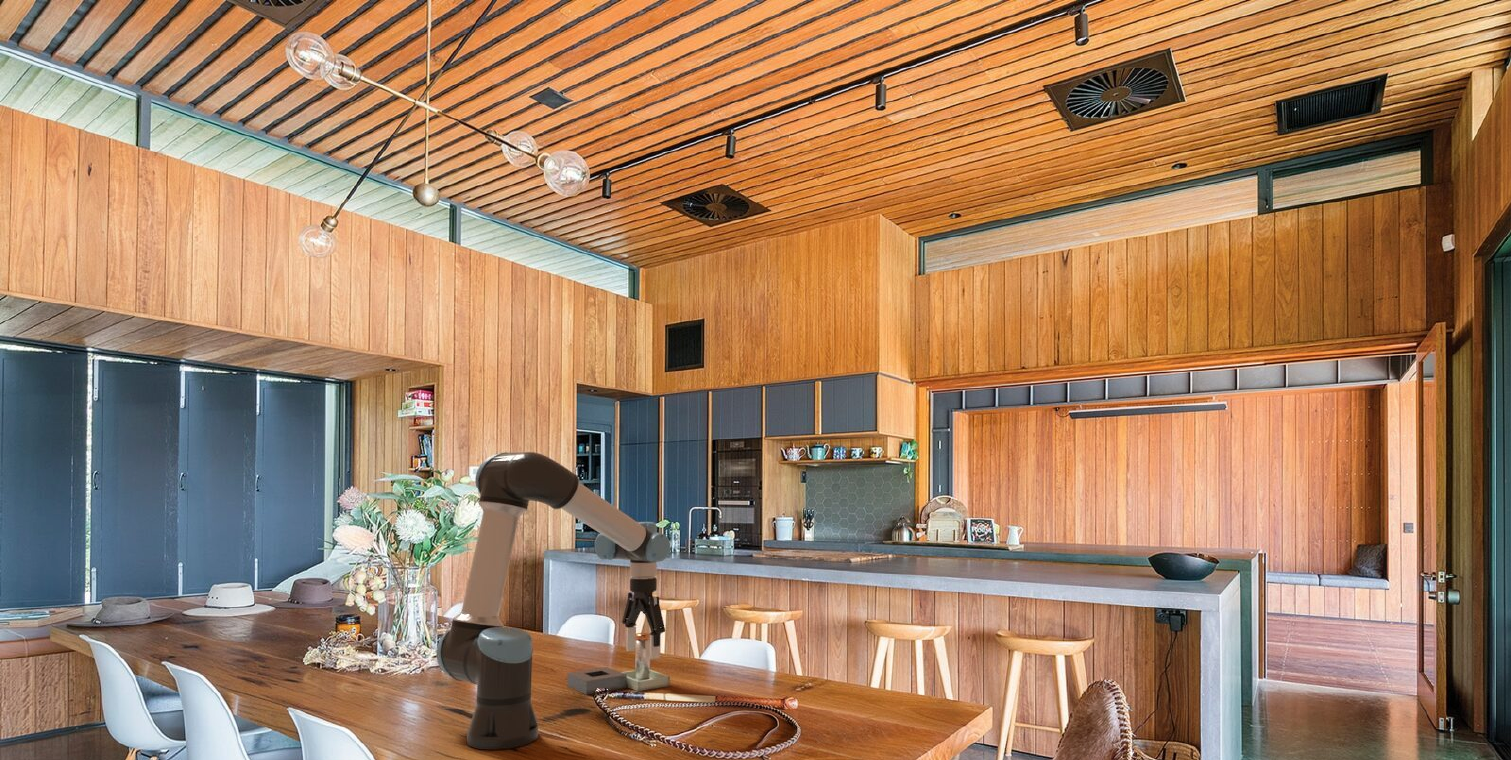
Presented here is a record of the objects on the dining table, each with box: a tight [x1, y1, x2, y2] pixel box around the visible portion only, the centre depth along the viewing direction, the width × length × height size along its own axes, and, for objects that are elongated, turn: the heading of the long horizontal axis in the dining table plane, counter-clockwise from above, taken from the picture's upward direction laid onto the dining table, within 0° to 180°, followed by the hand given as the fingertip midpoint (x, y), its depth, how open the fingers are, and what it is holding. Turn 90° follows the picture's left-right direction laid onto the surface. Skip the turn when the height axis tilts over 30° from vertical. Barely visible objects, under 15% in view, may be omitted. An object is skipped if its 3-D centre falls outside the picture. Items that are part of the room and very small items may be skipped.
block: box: [566, 666, 628, 695], centre depth 234 cm, size 12×12×4 cm
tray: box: [621, 669, 671, 692], centre depth 236 cm, size 10×13×2 cm
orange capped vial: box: [634, 632, 651, 681], centre depth 237 cm, size 4×4×13 cm
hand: (642, 654), depth 237 cm, fingers open, 13 cm apart
